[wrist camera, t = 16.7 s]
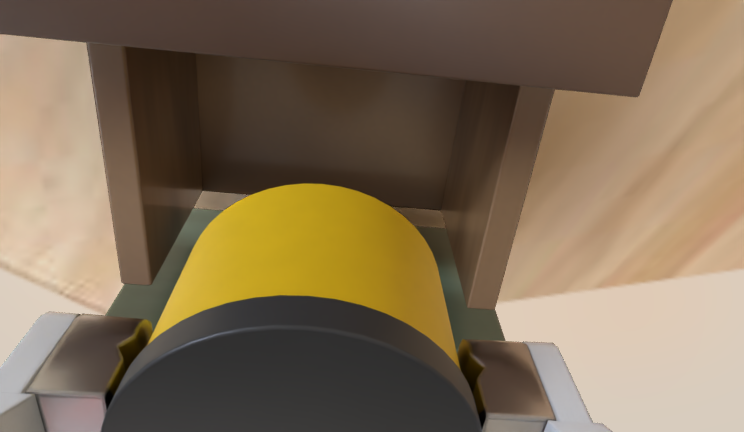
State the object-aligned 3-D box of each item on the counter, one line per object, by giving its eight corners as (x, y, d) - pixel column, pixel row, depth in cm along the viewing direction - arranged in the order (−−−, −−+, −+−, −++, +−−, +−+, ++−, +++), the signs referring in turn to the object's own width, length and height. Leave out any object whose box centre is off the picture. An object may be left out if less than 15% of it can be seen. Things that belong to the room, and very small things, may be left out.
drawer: (443, 343, 24) (470, 484, 18) (181, 325, 24) (122, 467, 18) (552, -145, 15) (672, -173, 10) (137, -198, 15) (-12, -266, 9)
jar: (171, 164, 9) (66, 312, 6) (467, 189, 9) (527, 341, 6) (189, 381, 12) (122, 573, 8) (424, 394, 12) (450, 582, 9)
